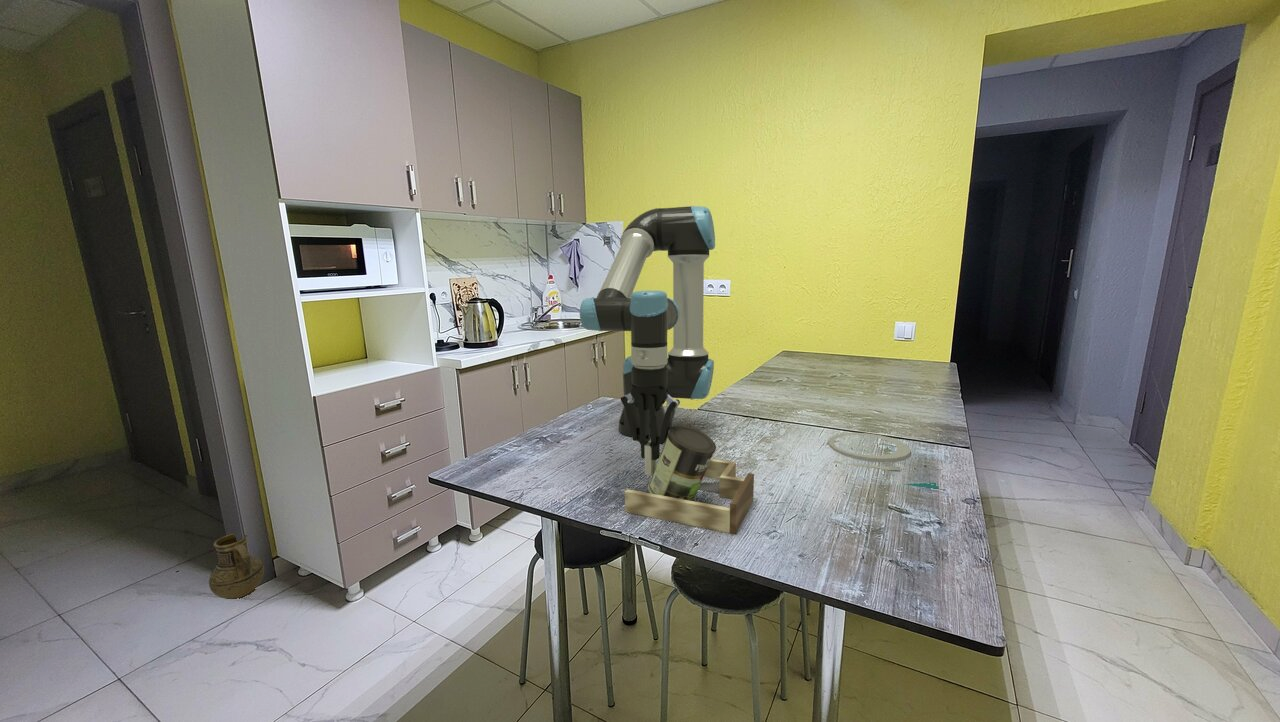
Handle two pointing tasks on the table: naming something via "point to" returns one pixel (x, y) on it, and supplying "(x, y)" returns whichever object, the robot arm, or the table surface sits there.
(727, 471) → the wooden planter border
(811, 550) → the table surface
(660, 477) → the coffee can
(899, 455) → the place mat
